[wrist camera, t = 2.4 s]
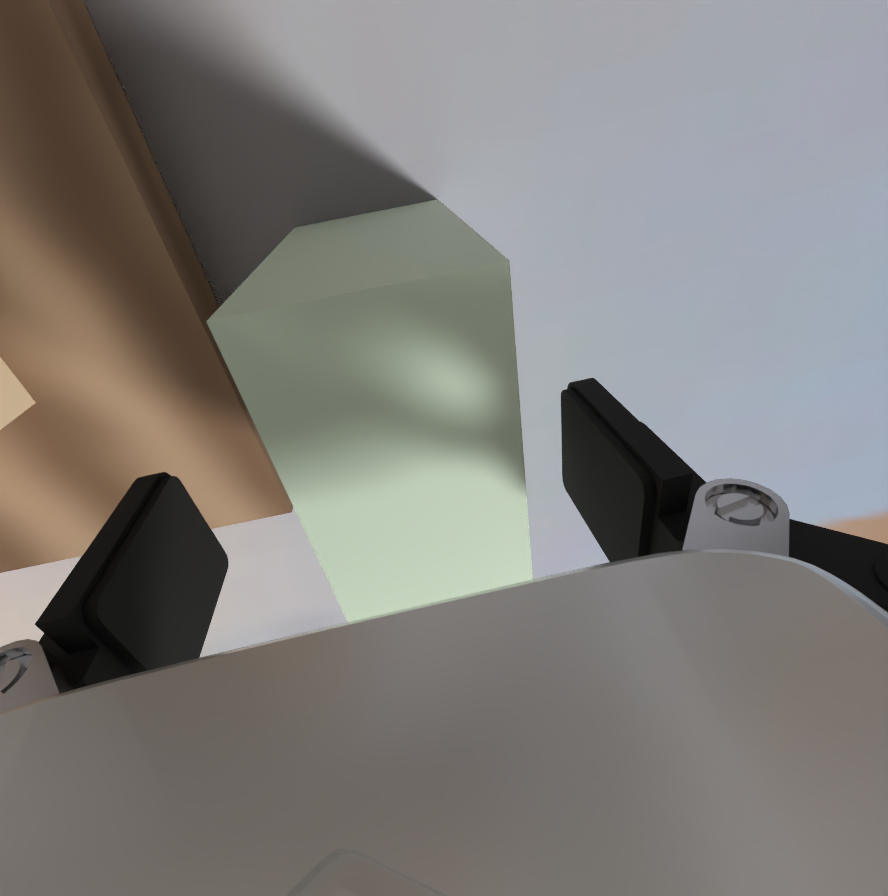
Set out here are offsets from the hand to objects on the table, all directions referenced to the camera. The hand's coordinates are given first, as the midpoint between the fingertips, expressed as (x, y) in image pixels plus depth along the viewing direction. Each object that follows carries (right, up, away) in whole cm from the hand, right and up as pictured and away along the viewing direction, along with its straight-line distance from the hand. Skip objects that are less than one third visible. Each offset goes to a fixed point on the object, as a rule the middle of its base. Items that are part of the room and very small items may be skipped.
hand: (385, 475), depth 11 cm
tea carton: (-1, +5, +7) cm, 9 cm away
